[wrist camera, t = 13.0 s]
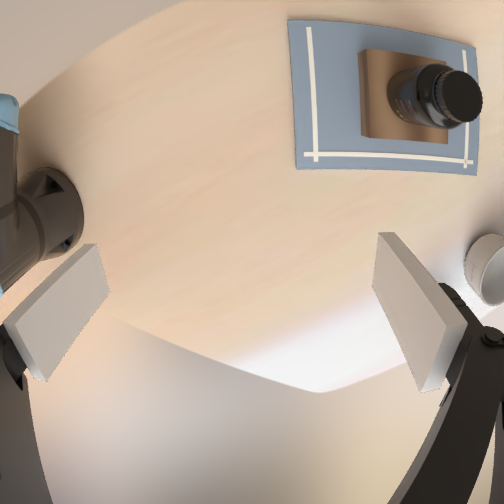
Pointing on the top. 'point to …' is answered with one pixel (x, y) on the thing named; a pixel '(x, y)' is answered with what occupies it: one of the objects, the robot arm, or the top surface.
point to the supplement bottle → (434, 96)
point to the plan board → (348, 100)
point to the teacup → (486, 269)
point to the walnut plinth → (376, 103)
